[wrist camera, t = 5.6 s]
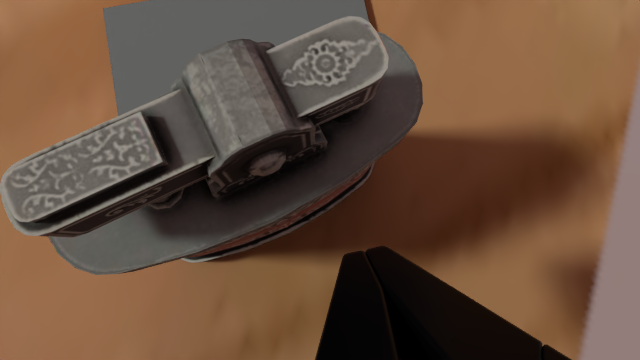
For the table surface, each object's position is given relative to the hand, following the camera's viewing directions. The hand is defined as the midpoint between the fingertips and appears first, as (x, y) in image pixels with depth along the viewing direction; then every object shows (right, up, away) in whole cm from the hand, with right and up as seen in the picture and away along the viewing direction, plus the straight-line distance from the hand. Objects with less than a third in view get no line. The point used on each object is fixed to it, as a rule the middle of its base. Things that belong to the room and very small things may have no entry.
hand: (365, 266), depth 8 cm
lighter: (-3, +1, +8) cm, 8 cm away
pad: (-4, +6, +8) cm, 11 cm away
